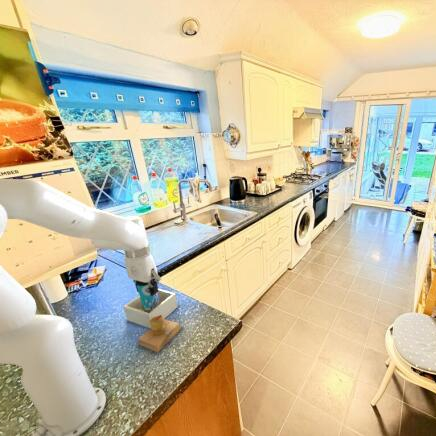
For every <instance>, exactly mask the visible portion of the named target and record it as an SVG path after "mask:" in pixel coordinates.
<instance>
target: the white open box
mask: <svg viewBox="0 0 436 436" xmlns="http://www.w3.org/2000/svg"><path fill="white" fill-rule="evenodd" d="M158 290H159V291H158V295H159V299H160V305H158V306H157V307H156V308H155V309H154V310H152V311H151V312H150V313H147V312H144V309H143V306H142V302H141V299H140V295H138V296H136V297H135V298H134V299H131V301H130V302H128V303H127V304H125V305H124V306H123V309H124V313H125V317H126V320H127V321H128V322H131V323H134V324H137V325H139V326H142V327H145V328H148V329H150V327H151V325H150V320H151V319H152V318H153V317H156V316H160V315H161V316H162V317H163V319H166V318H167V317H168V316H169V315H170V314H171V313H173V312H174V311H175V310H176V309H177V308H178V307H179V303H178V300H177V294H176V293H175V292H172V291H168V290H165V289H161V288H158Z"/></svg>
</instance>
